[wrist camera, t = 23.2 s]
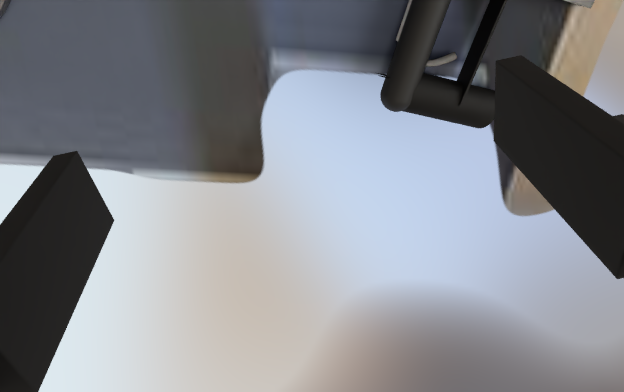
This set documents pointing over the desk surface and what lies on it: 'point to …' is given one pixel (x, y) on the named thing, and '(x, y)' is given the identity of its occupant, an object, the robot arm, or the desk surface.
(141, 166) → the desk surface
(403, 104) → the door handle
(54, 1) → the desk surface
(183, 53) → the desk surface
